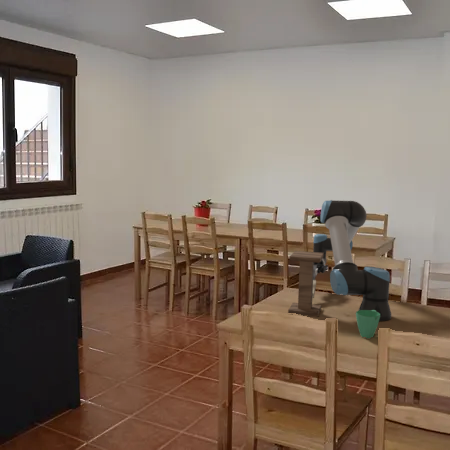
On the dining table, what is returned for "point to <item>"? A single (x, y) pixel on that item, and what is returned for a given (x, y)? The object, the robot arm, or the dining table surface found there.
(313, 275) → the bar
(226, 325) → the dining table surface
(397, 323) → the dining table surface
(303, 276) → the stand
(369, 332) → the mug
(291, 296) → the dining table surface
